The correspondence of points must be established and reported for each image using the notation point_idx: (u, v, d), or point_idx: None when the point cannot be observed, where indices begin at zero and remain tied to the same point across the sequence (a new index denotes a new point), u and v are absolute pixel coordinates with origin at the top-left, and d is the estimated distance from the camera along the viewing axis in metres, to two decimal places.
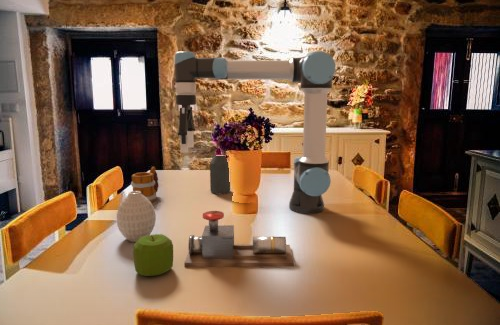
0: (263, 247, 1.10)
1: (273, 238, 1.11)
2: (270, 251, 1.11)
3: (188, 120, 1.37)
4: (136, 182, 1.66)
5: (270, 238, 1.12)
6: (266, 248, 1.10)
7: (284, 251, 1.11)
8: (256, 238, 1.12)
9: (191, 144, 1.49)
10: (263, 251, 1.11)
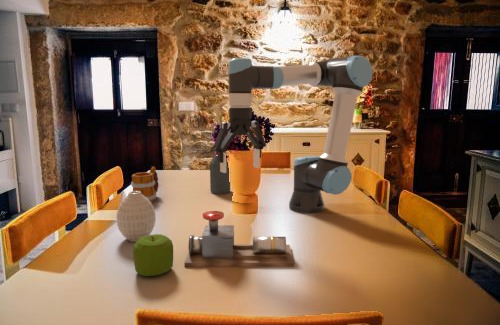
0: (263, 247, 1.10)
1: (273, 238, 1.11)
2: (270, 251, 1.11)
3: (233, 136, 1.20)
4: (136, 182, 1.66)
5: (270, 238, 1.12)
6: (266, 248, 1.10)
7: (284, 251, 1.11)
8: (256, 238, 1.12)
9: (256, 164, 1.28)
10: (263, 251, 1.11)
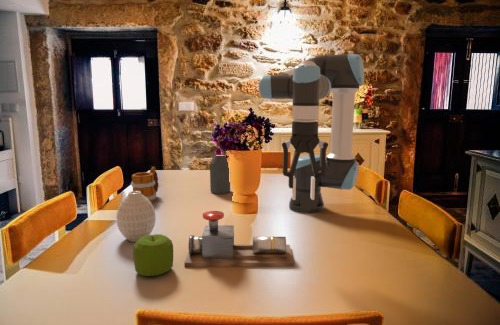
0: (263, 247, 1.10)
1: (273, 238, 1.11)
2: (270, 251, 1.11)
3: (298, 156, 1.06)
4: (136, 182, 1.66)
5: (270, 238, 1.12)
6: (266, 248, 1.10)
7: (284, 251, 1.11)
8: (256, 238, 1.12)
9: (311, 195, 1.09)
10: (263, 251, 1.11)
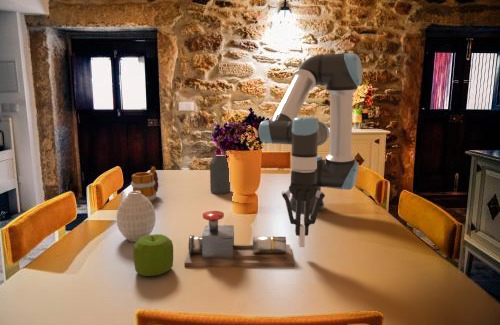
0: (263, 247, 1.10)
1: (273, 238, 1.11)
2: (270, 251, 1.11)
3: (300, 204, 1.09)
4: (136, 182, 1.66)
5: (270, 238, 1.12)
6: (266, 248, 1.10)
7: (284, 251, 1.11)
8: (256, 238, 1.12)
9: None
10: (263, 251, 1.11)
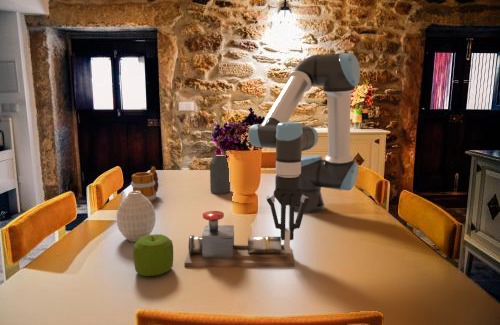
0: (258, 247, 1.10)
1: (268, 238, 1.11)
2: (265, 251, 1.11)
3: (285, 209, 1.09)
4: (136, 182, 1.66)
5: (265, 238, 1.12)
6: (261, 248, 1.10)
7: (279, 251, 1.11)
8: (251, 238, 1.12)
9: None
10: (258, 251, 1.11)
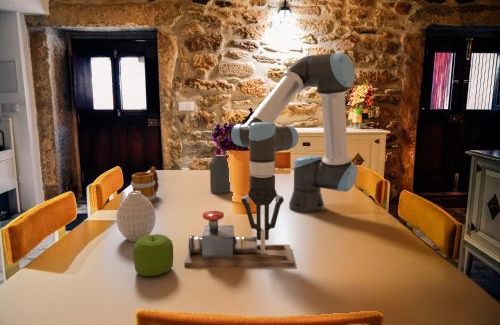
0: (234, 247, 1.10)
1: (244, 238, 1.11)
2: (241, 251, 1.11)
3: (259, 209, 1.09)
4: (136, 182, 1.66)
5: (241, 238, 1.11)
6: (237, 248, 1.10)
7: (255, 251, 1.11)
8: None
9: None
10: (234, 251, 1.11)
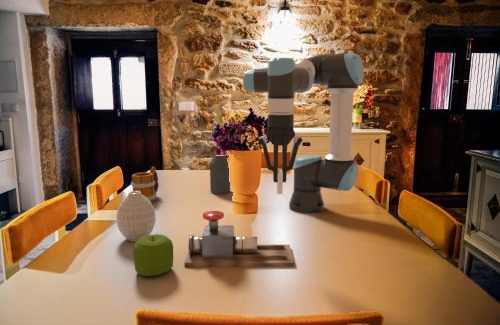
0: (234, 247, 1.10)
1: (244, 238, 1.11)
2: (241, 251, 1.11)
3: (277, 149, 1.06)
4: (136, 182, 1.66)
5: (241, 238, 1.11)
6: (237, 248, 1.10)
7: (255, 251, 1.11)
8: None
9: None
10: (234, 251, 1.11)
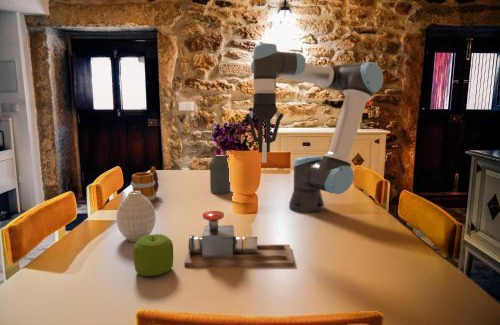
0: (234, 247, 1.10)
1: (244, 238, 1.11)
2: (241, 251, 1.11)
3: (262, 123, 1.23)
4: (136, 182, 1.66)
5: (241, 238, 1.11)
6: (237, 248, 1.10)
7: (255, 251, 1.11)
8: None
9: None
10: (234, 251, 1.11)
